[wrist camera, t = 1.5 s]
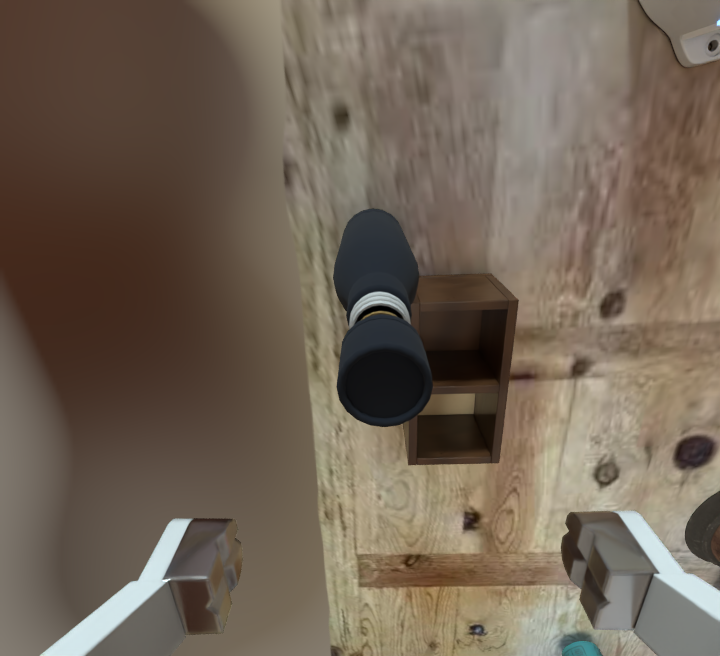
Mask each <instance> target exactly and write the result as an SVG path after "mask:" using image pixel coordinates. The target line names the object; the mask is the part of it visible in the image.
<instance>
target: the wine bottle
mask: <svg viewBox="0 0 720 656" xmlns="http://www.w3.org/2000/svg"><path fill="white" fill-rule="evenodd" d="M333 280H334V284H335V289H336V293H337V296H338V298H339V300H340V302H341V303H342V305H343V307H344V309H345V310H346V311H347V315H346V316H347V321H348V326H349V330H348V332H347V334H346V336H345V338H344V339H343V341H342V348H341V356H340V364H339V372H338V380H337V391H338V395H339V400H340V401H341V403H342V405H343V406H344V408H345V409H346V411H347V412H348V413H350V414H351V415H352V416H353V417H355V418H356V419H357V420H359V421H361V422H364V423H366V424H369V425H372V426H380V427H388V426H396V425H400V424H402V423H405V422H407V421H410V420H412V419H413V418H414V417H415V416H417V415H418V414H419V413H420V412H422V411H423V409H424V408H425V406H426V405H427V403H428V402H429V400H430V397H431V393H432V389H433V382H432V374H431V370H430V367H429V363H428V360H427V356H426V353H425V350H424V346H423V343H422V340H421V338H420V336H419V334H418V332H417V330H416V329H415V328H414V327H413V326H411V317H412V312H411V304H412V303H413V301H414V299H415V296H416V292H417V287H418V282H419V271H418V264H417V262H416V259H415V257H414V255H413V253H412V251H411V248H410V246H409V244H408V242H407V240H406V237H405V235H404V233H403V231H402V229H401V227H400V225H399V223H398V221H397V220H396V219H395V218H394V217H393V216H392V215H391V214H389V213H387V212H385V211H383V210H379V209H368V210H363V211H361V212H360V213H358V214H356V215H354V217H353V218H352V219H351V220H350V221H349V222H348V224H347V226H346V228H345V230H344V233H343V237H342V241H341V244H340V248H339V251H338V255H337V259H336V262H335V267H334V275H333Z"/></svg>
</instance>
